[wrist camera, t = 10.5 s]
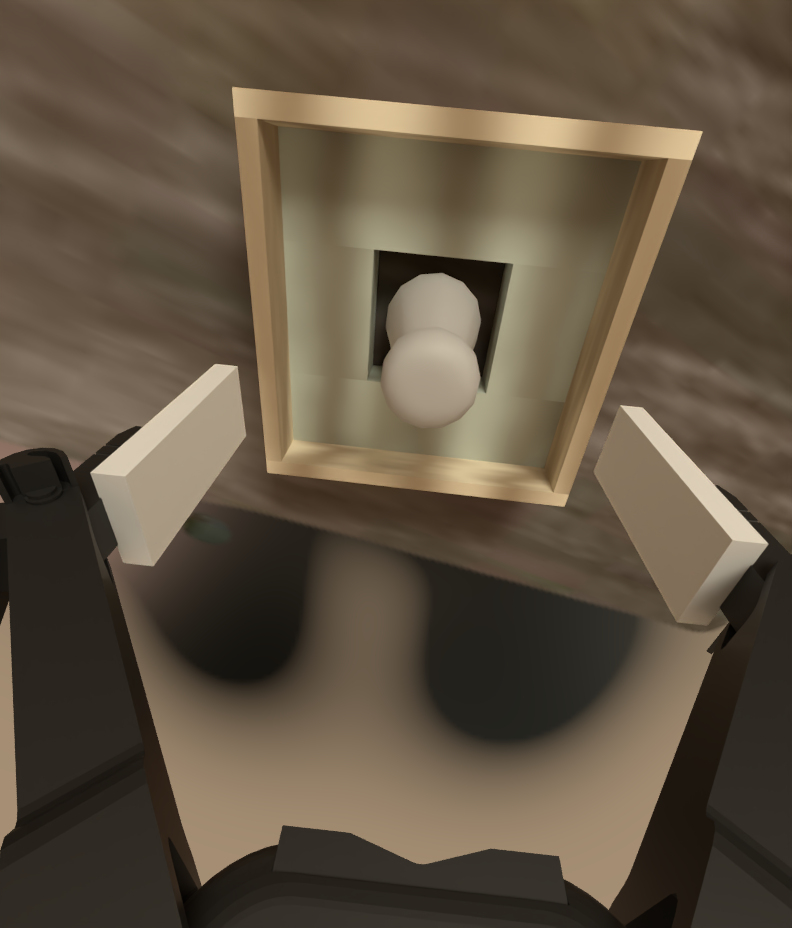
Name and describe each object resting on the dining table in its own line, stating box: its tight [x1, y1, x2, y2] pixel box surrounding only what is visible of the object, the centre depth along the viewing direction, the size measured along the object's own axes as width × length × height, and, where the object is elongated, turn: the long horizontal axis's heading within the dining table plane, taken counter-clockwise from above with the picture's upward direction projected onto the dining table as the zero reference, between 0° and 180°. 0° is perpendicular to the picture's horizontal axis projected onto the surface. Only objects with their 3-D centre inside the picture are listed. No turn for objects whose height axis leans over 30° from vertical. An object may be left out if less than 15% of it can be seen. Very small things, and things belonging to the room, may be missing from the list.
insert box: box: [232, 87, 703, 507], centre depth 27 cm, size 20×20×6 cm
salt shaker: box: [380, 273, 481, 428], centre depth 24 cm, size 6×6×13 cm
